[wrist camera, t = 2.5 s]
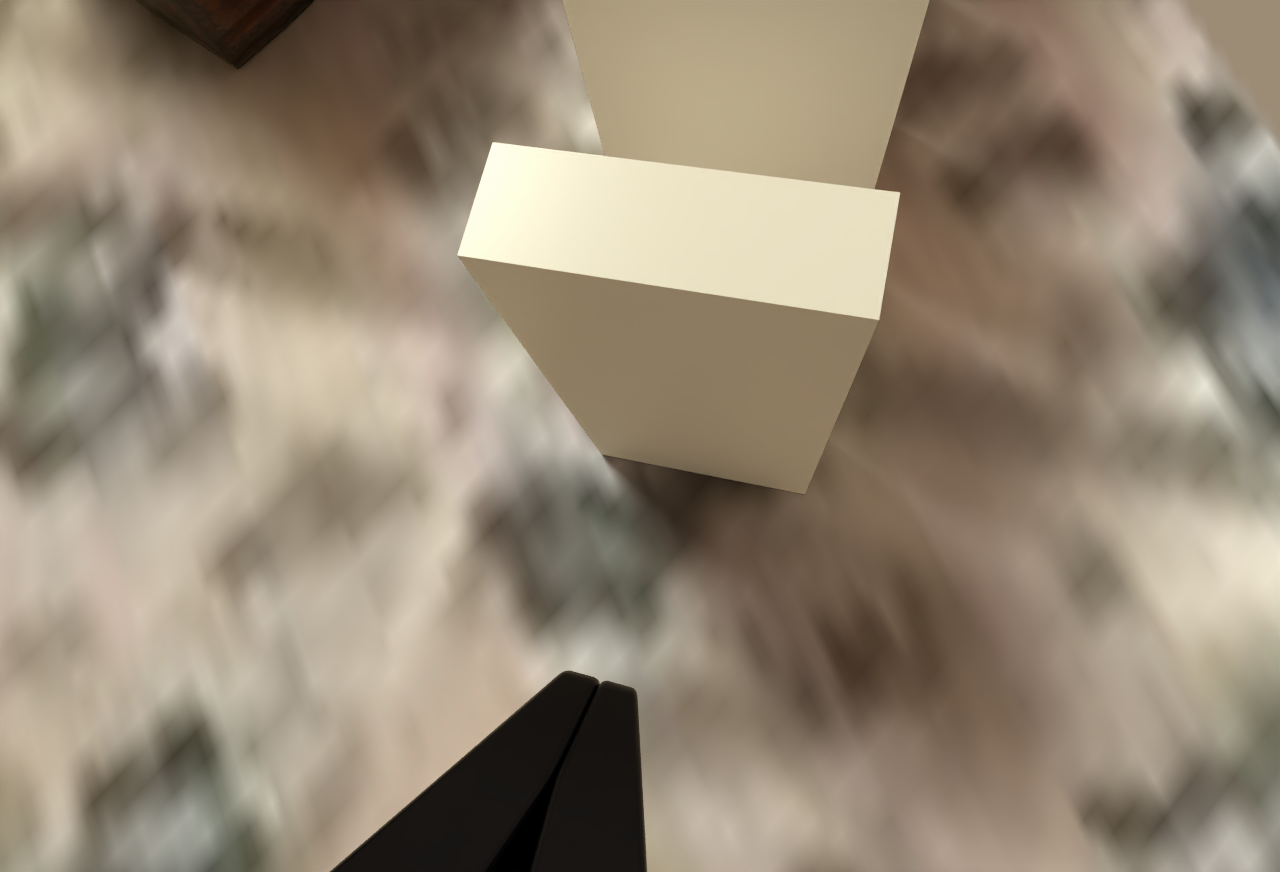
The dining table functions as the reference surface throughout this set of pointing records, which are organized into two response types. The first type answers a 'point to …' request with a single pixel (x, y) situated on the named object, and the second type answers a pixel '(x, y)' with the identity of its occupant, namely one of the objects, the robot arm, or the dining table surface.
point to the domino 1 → (748, 82)
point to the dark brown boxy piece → (228, 23)
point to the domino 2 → (685, 302)
